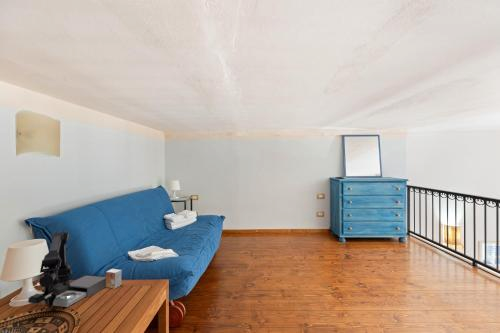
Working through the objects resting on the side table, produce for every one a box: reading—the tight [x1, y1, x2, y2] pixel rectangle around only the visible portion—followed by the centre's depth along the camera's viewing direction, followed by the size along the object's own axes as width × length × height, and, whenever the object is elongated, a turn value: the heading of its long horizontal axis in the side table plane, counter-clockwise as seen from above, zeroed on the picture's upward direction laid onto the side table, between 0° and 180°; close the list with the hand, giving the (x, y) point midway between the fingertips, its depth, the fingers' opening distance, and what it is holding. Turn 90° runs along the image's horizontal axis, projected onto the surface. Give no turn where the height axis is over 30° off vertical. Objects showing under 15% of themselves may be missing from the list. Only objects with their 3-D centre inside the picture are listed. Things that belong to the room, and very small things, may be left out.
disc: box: [60, 292, 76, 301], centre depth 143 cm, size 8×8×2 cm
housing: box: [65, 275, 107, 298], centre depth 156 cm, size 17×14×6 cm
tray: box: [52, 290, 87, 308], centre depth 143 cm, size 14×14×4 cm
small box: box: [105, 268, 123, 290], centre depth 161 cm, size 8×6×10 cm
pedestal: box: [36, 300, 47, 306], centre depth 140 cm, size 5×5×5 cm
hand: (50, 307), depth 132 cm, fingers closed
